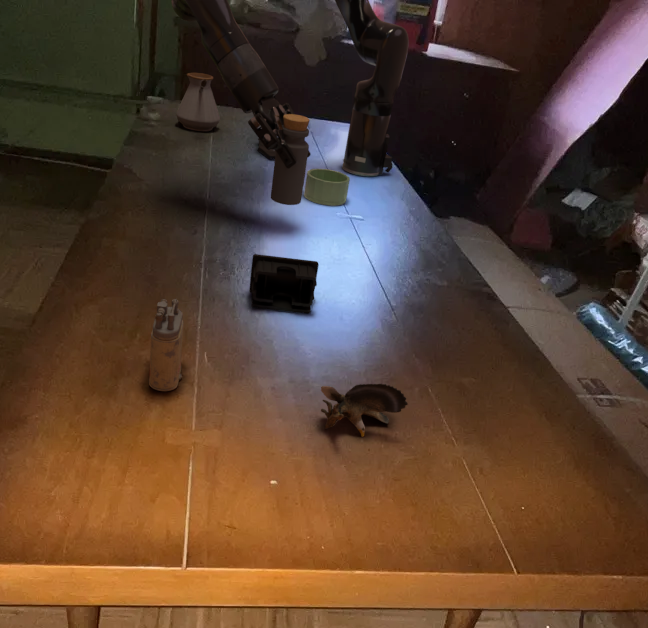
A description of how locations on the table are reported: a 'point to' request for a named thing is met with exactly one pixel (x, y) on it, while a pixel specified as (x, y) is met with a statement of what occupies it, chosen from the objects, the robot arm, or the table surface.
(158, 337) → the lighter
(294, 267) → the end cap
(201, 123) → the coffee pot
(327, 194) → the holder
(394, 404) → the dark toy animal
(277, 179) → the bottle
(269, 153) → the dark sector wedge
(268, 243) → the table surface
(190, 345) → the table surface
